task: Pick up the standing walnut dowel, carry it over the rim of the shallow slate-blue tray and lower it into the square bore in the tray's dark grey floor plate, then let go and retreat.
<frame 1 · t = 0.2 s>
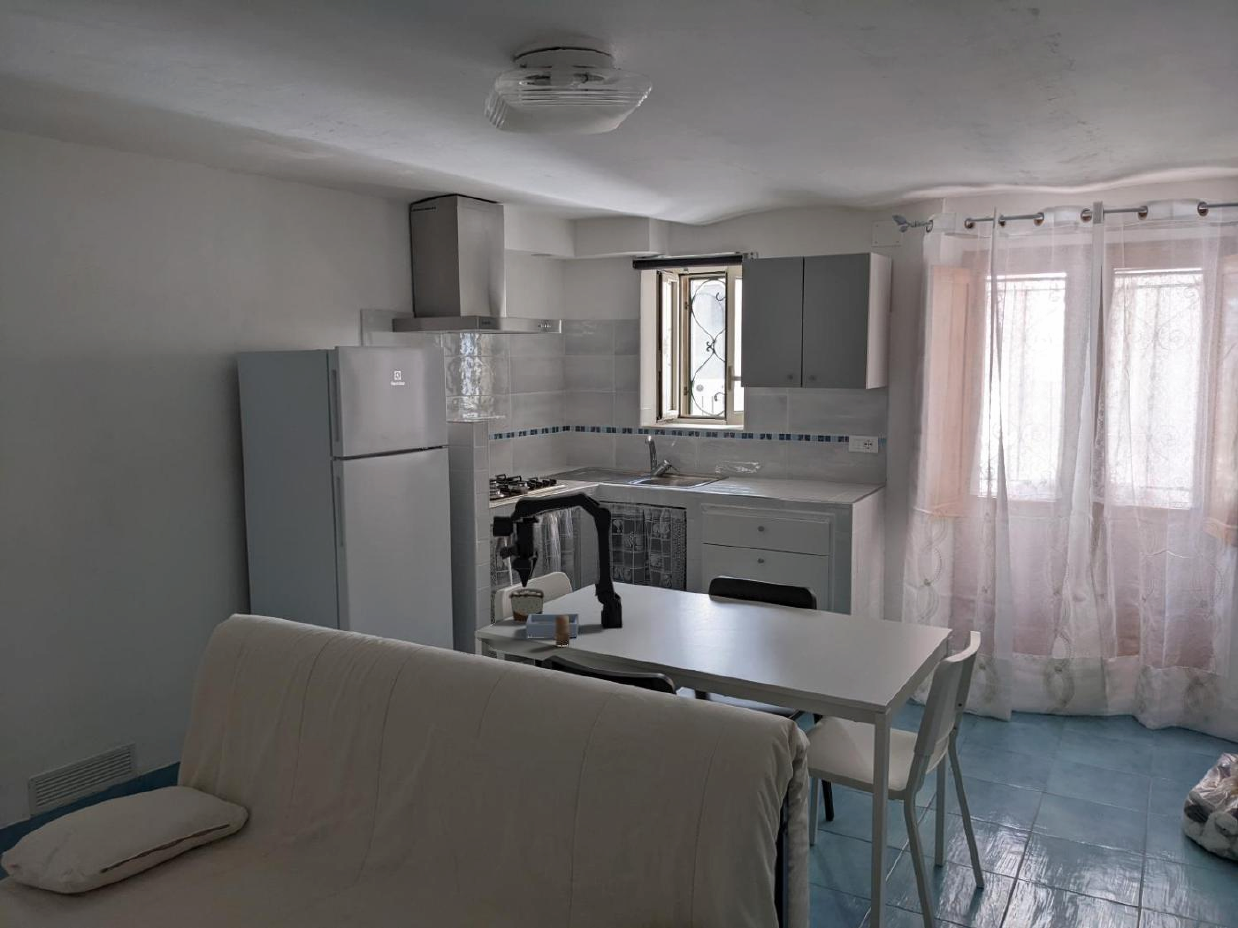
hand: (526, 583, 309), 14 cm above the table, fingers open, 9 cm apart
box: (552, 632, 304), on the table
food container: (529, 620, 319), on the table
peg: (562, 645, 292), on the table
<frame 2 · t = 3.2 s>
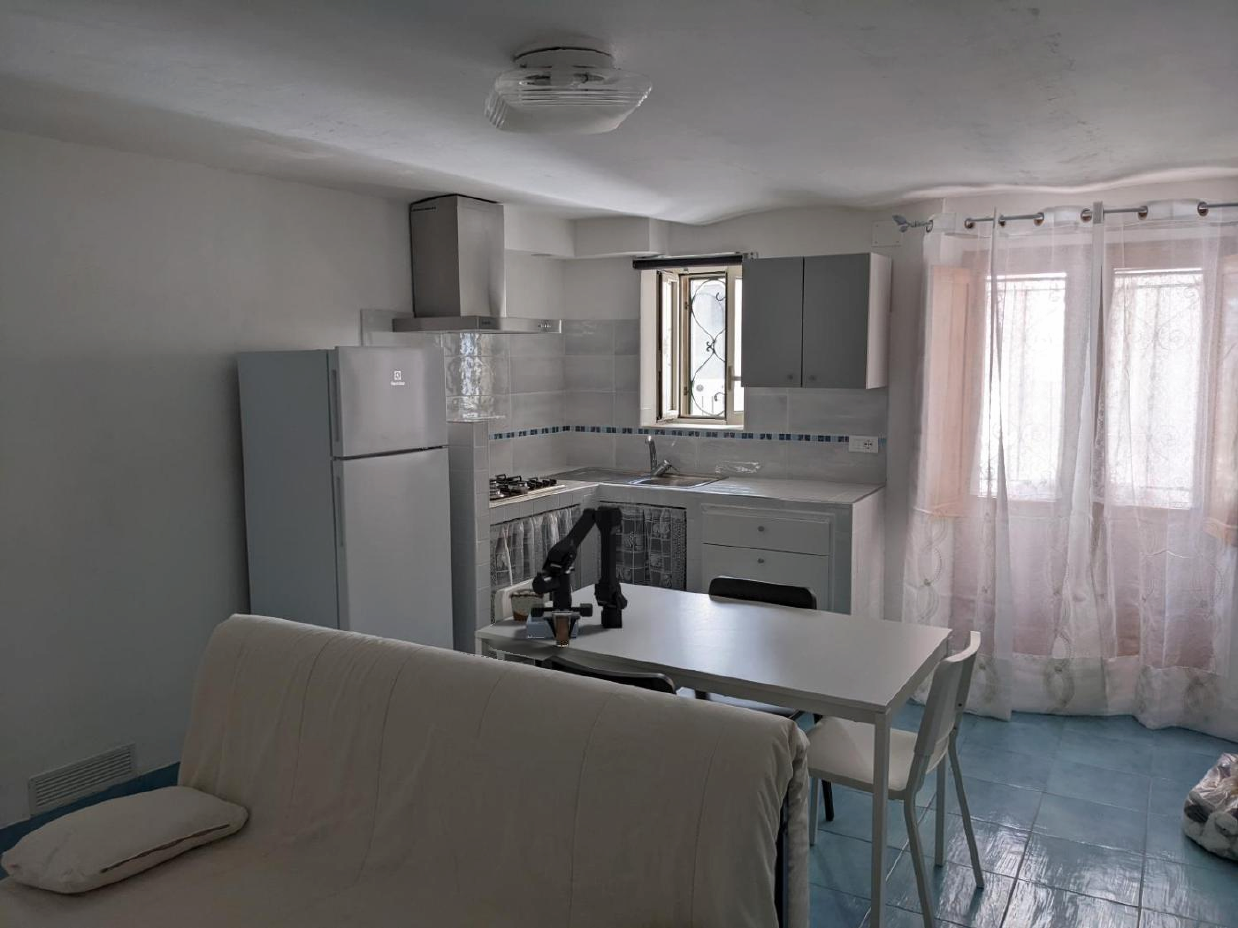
hand: (562, 637, 292), 3 cm above the table, fingers closed on peg, 4 cm apart
peg: (562, 645, 292), on the table, touching gripper
everything else where it was.
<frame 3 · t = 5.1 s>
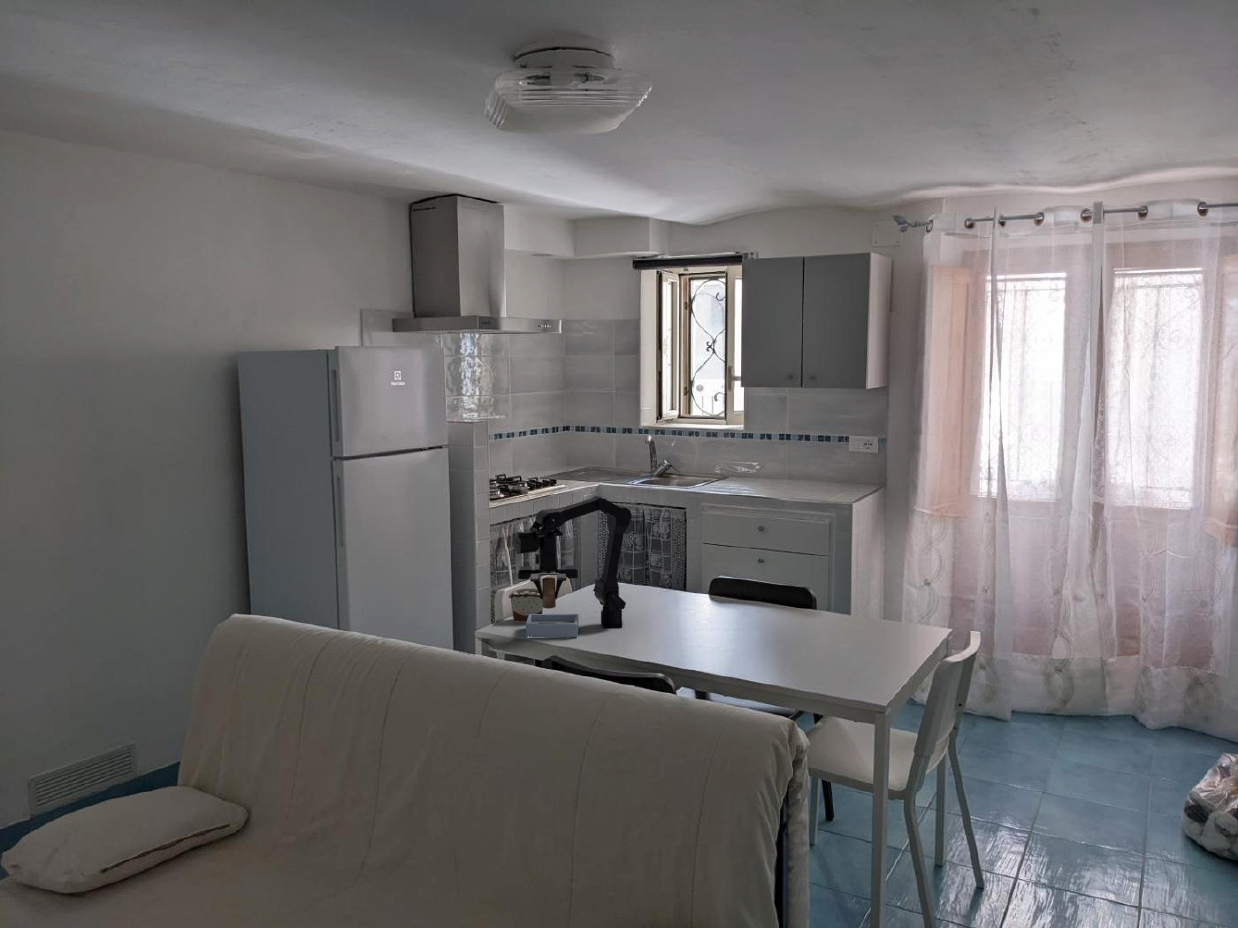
hand: (549, 598, 300), 12 cm above the table, fingers closed on peg, 4 cm apart
peg: (549, 606, 300), point 9 cm above the table, touching gripper
everything else where it was.
when the fingers open (3 cm above the table, at t = 7.3 s): peg stays where it is, resting in box.
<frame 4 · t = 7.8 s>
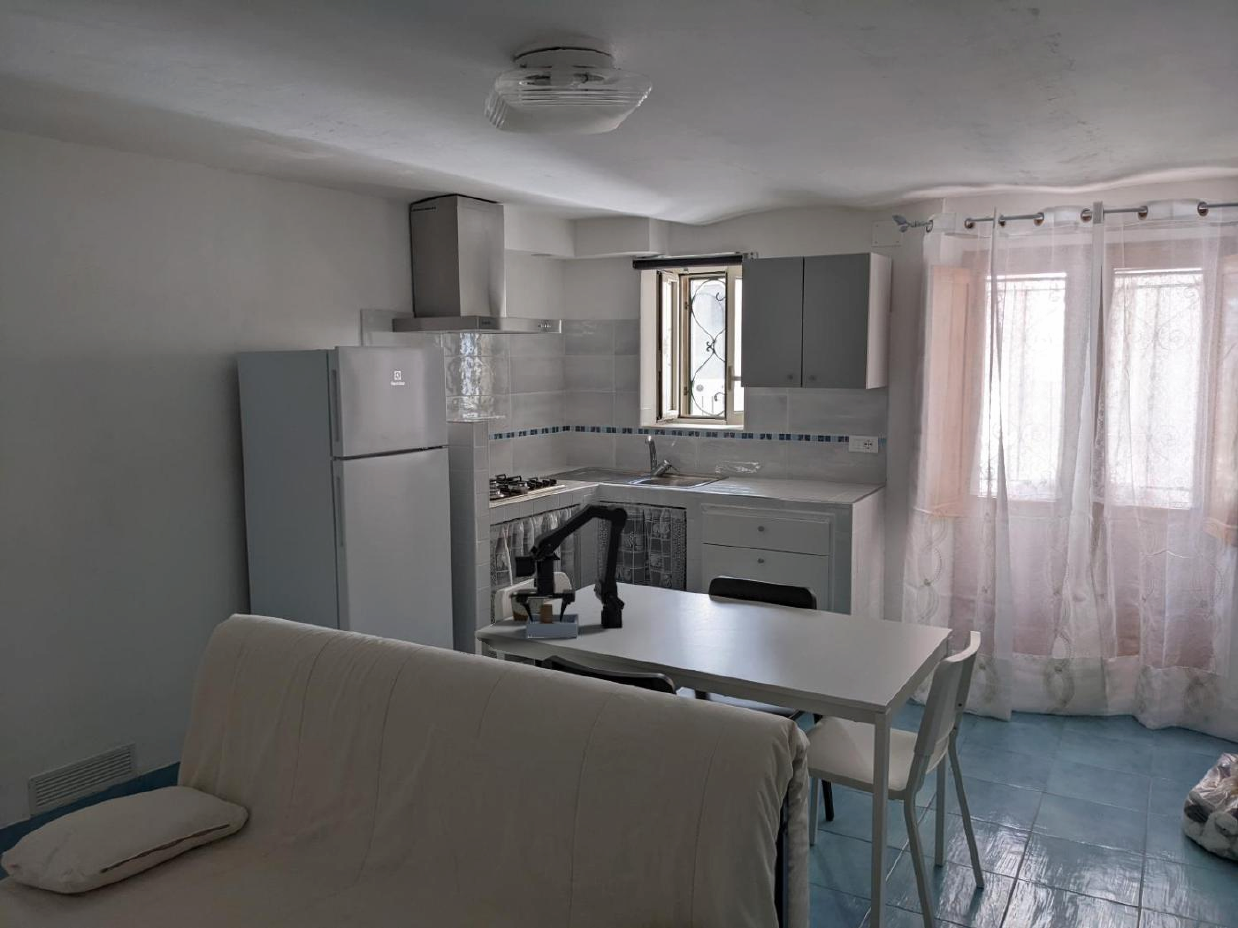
hand: (546, 622, 304), 4 cm above the table, fingers open, 9 cm apart
peg: (546, 632, 304), resting in box
everything else where it was.
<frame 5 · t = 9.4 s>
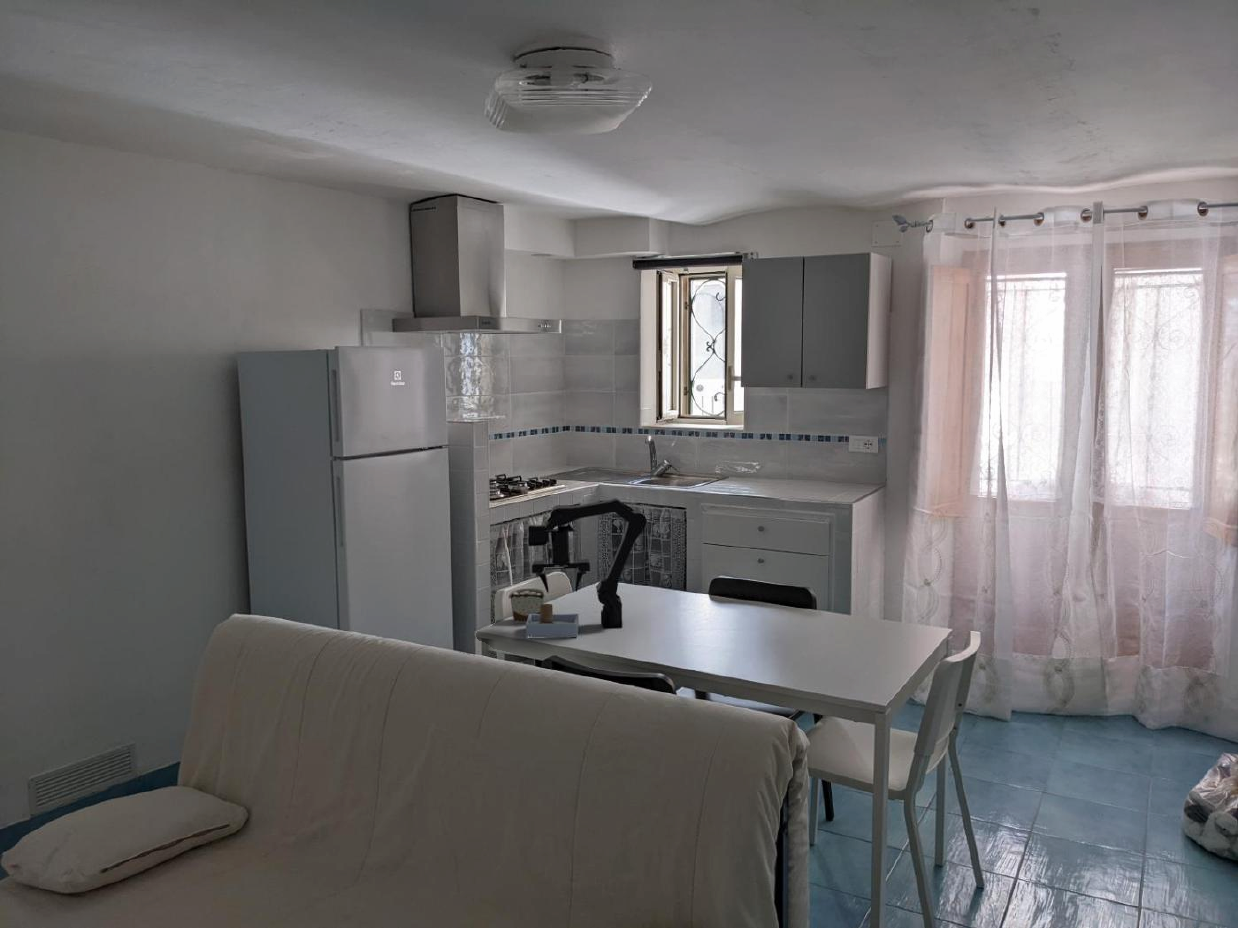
hand: (562, 591, 309), 12 cm above the table, fingers open, 9 cm apart
nothing on the table moved.
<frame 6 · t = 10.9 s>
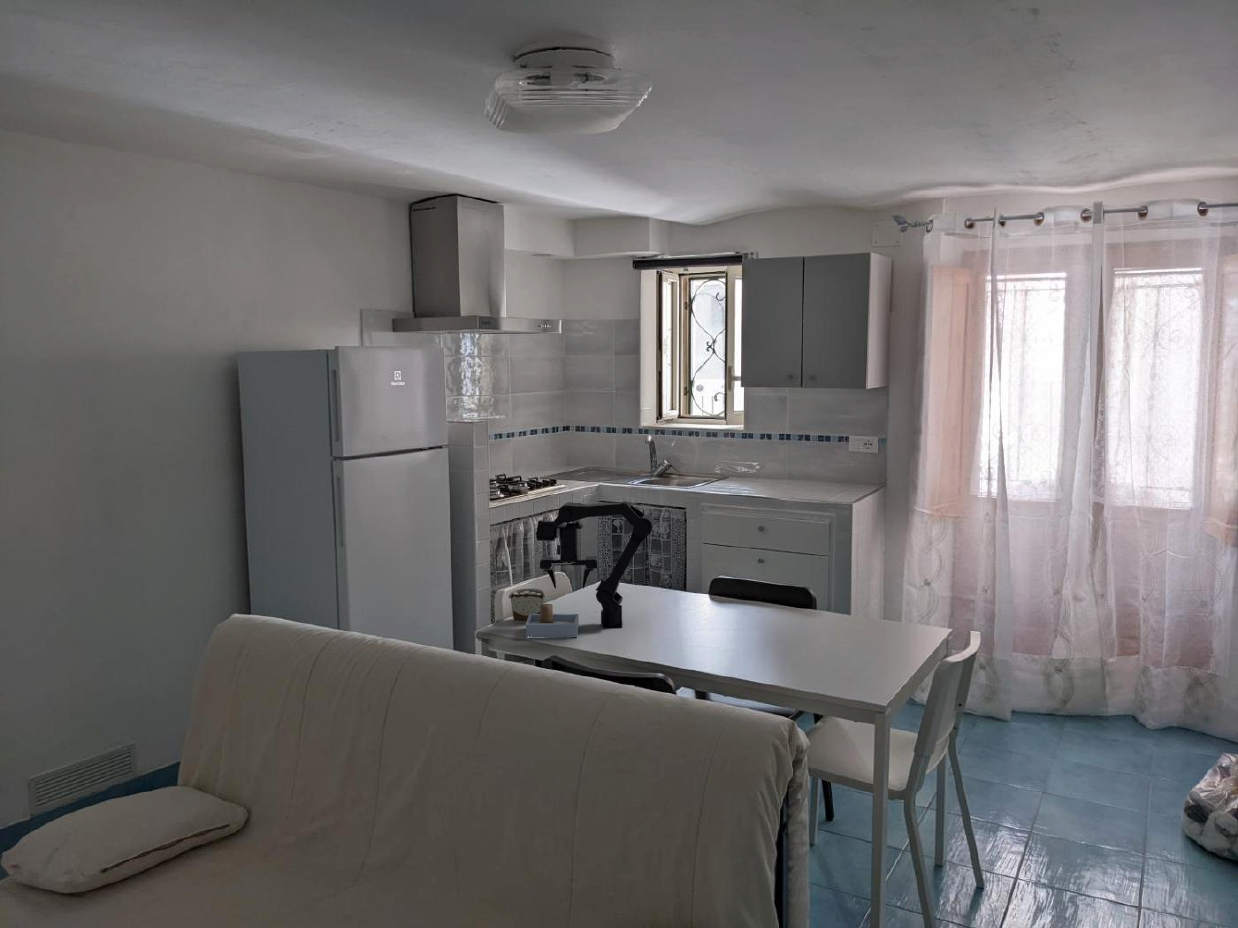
hand: (569, 588, 312), 12 cm above the table, fingers open, 9 cm apart
nothing on the table moved.
at the end: peg 0.1 cm from the target spot on the box, point 0.0 cm above the box's base; peg tilted 0°; the gripper is holding nothing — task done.
